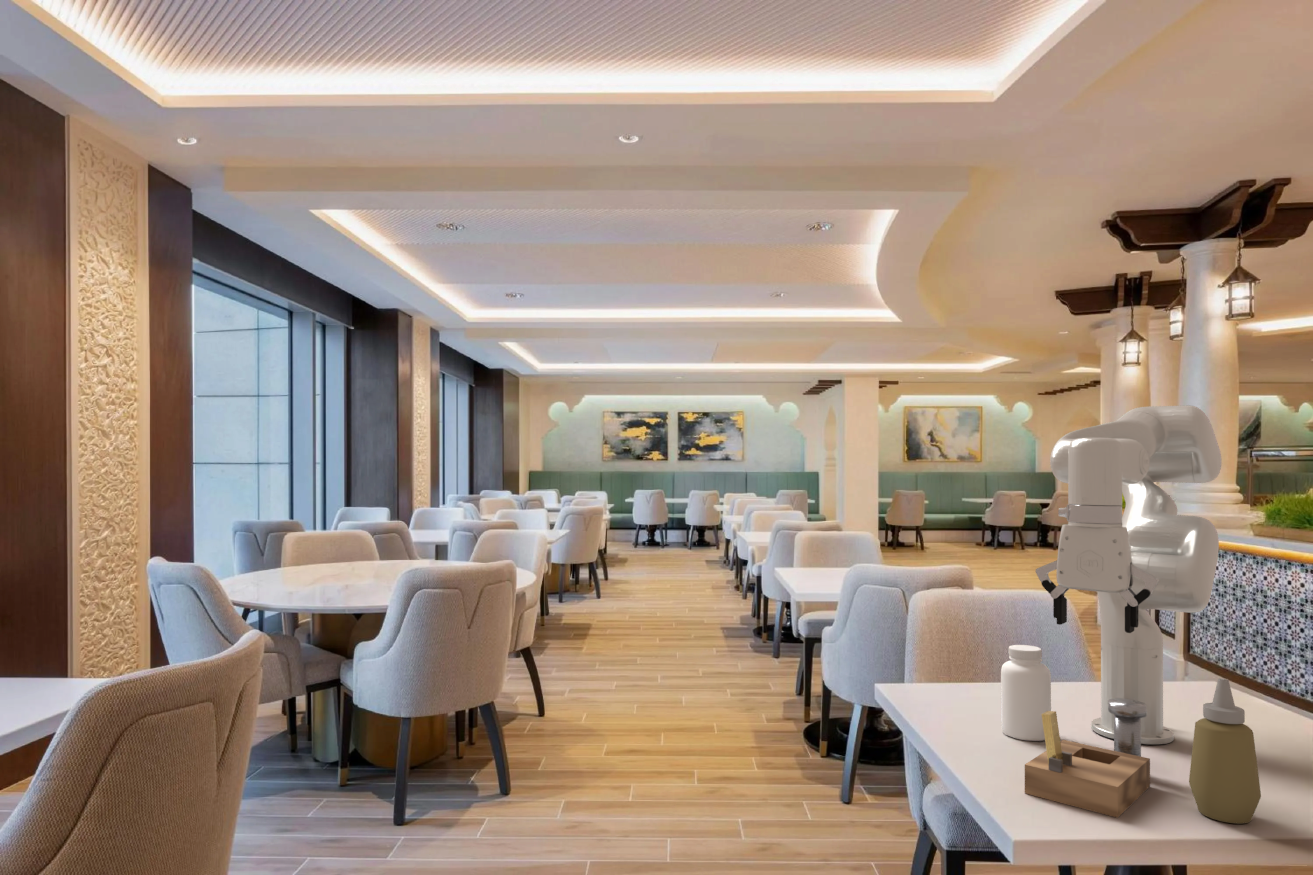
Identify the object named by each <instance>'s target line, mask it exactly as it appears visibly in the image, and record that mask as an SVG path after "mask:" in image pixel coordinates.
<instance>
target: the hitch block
mask: <svg viewBox="0 0 1313 875" xmlns="http://www.w3.org/2000/svg"><path fill="white" fill-rule="evenodd" d="M1060 742H1061V749H1062V757H1063V760H1061V759H1057V758H1053V757H1050V758H1049V765H1048V758H1047V750H1046V749H1045V751H1043V752H1042V753H1040V754H1039V755H1037V756H1035V757H1034V758H1033V759H1031V760H1030V761H1028V762H1026V763H1025V764H1024V794H1027V795H1030V796H1034V797H1036V798H1037V797H1038V798H1042V799H1044V800H1049V801H1053V802H1056V803H1061V804H1064V805H1067V806H1071V807H1075V808H1079V809H1083V810H1086V811H1087V810H1088V811H1090V812H1094V813H1098V814H1102V815H1106V816H1110V817H1114V818H1117V819H1118V818H1119V817H1121V816H1122V815H1123V813H1125V811H1126V810H1128V808H1129V807H1131V806H1132V805H1133V804H1134V803H1135V802H1136V800H1139V798H1140V797H1141V796H1142V795H1143V794H1144V793H1145V792H1146V791H1147V790H1148V789H1149V788H1150V787H1151V758H1149V757H1144V756H1141V757H1140V756H1136V755H1131V754H1126V753H1122V752H1117V751H1114V749H1107V748H1103V747H1099V746H1093V745H1089V744H1085V743H1080V742H1074V741H1072V740H1071V741H1070V740H1067V739H1062V740H1060Z"/></svg>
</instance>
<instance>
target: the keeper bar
mask: <svg viewBox="0 0 1313 875" xmlns="http://www.w3.org/2000/svg"><path fill="white" fill-rule="evenodd" d="M1041 715H1042V722H1043V729H1044V736H1045V740H1044V741H1045V742H1044V743H1045V751H1046V750H1047V758H1048V765H1049V758H1050V757H1053V758H1057V759H1061V760H1063V757H1062V749H1061V742H1060V741H1061V736H1060V728H1059V723H1058V716H1057V711H1056V710H1055V711H1054V710H1051V711H1046V712H1045V713H1043V714H1041Z"/></svg>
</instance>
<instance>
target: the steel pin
mask: <svg viewBox="0 0 1313 875" xmlns="http://www.w3.org/2000/svg"><path fill="white" fill-rule="evenodd" d="M1108 711H1109V712H1110V713H1112V714H1114V739H1113V751H1117V752H1122V753H1126V754H1131V755H1136V756H1140V757H1142V744H1141V718H1143V717H1146V716H1147V705H1146V704H1145V703H1143V702H1140V701H1136V700H1130V699H1121V698H1113V699H1109V700H1108Z"/></svg>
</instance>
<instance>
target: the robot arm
mask: <svg viewBox="0 0 1313 875" xmlns="http://www.w3.org/2000/svg"><path fill="white" fill-rule="evenodd" d="M1049 460H1050V462H1049V463H1050V464H1049V465H1050V469H1051V472H1052V474H1053V476H1054V477H1055V478H1056V480H1057V481H1059V482H1061V483H1063V484H1067V486H1068V487H1067V497H1068V498H1067V500H1068V501H1067V502H1068V503H1067V504H1066V506H1065V507H1060V508H1058V517H1063V518H1065V519H1066V521H1067V524H1062V525H1061V529H1060V533H1059V534H1060V535H1059V540H1058V547H1057V548H1058V549H1057V560H1054V561H1052V562H1049V563H1047V564H1045V565H1042V566H1040V567H1039V566H1038V567H1037V568H1036V569H1035V574H1036V576H1037V577H1038V580H1039V582H1041V586H1042V587H1043V589H1045V591H1047V593H1048V594H1049V595H1050V597H1051V598H1052V599H1053V606H1052V607H1053V609H1052V610H1053V611H1052V612H1053V618H1054V619H1056V625H1063V624H1066V623H1067V622H1068V599H1067V597H1065V594H1066V593H1067V592H1068V591H1069V590H1070V589H1071V590H1079V591H1088V592H1089V591H1091V592H1096V593H1097V597H1098V604H1099V614H1100V717H1097V718H1095V719H1093V720H1091V724H1090V725H1091V729H1092V730H1093V731H1094V732H1095V733H1097V734H1098V735H1101V736H1103V737H1104V738H1109V739H1111V740H1114V714H1112V713H1110V712H1109V711H1108V700H1109V699H1113V698H1121V699H1130V700H1136V701H1140V702H1143V703H1145V704H1146V705H1147V716H1146V717H1143V718H1141V745H1152V746H1153V745H1166V744H1169V743H1172V742H1173V741H1174V740H1175V736H1174V735H1175V733H1174V732H1173V730H1171V729H1170V728H1168V727H1166V726H1164V640H1163V639H1164V638H1163V633H1162V631H1161V628H1160V627H1159V625H1158V624H1157V623H1156V621H1155V620H1154V618H1153V617H1152V616H1151V615H1150V614H1149V612H1148V611H1147V610H1158V611H1159V610H1160V611H1169V612H1178V613H1190V614H1191V613H1193V614H1194V613H1199V612H1201V611H1203V610H1204V609H1206V608H1207V606H1208V604H1209V602H1210V599H1211V596H1212V590H1213V585H1214V582H1215V581H1214V580H1215V575H1216V571H1217V570H1216V569H1217V564H1218V558H1219V550H1220V545H1219V544H1220V542H1219V534H1218V531H1217V528H1216V527H1215V525H1214V524H1213V523H1212V521H1210V520H1209V519H1207V518H1206V517H1202V516H1197V515H1184V514H1183V515H1181V514H1180V515H1179V514H1178V506H1177V504H1176V502H1175V501H1174V500H1173V499H1172V497H1171V496H1170V495H1169V494H1168V493H1167V492H1166V491H1165V490H1164V489H1163V488H1162V487H1160V486H1159V485H1158V484H1155V483H1178V484H1180V483H1183V484H1184V483H1185V484H1203V483H1209V482H1212V481H1214V480H1216V478H1218V477H1219V475H1220V473H1221V470H1222V454H1221V449H1220V446H1219V443H1218V440H1217V437H1216V434H1215V431H1214V429H1213V426H1212V423H1211V421H1210V419H1209V417H1208V415H1207V414H1206V413H1205V412H1204V411H1203V410H1202V409H1201V408H1200V407H1197V406H1194V405H1189V404H1188V405H1156V406H1154V405H1152V406H1140V407H1139V406H1138V407H1136V408H1133V409H1130V410H1128V411H1127V412H1125V413H1124V414H1123V415H1122V416H1120V417H1119V418H1117V420H1115V421H1110V422H1105V423H1102V424H1098V425H1093V426H1088V427H1084V428H1081V429H1076V430H1073V431H1070V432H1068V433H1066V434H1064V435H1063V436H1061V437H1060V438H1059V439H1058V440H1057V441H1056V443H1055V444H1054V446H1053V448H1052V450H1051V453H1050V459H1049ZM1123 499H1124V502H1125V507H1124V511H1123ZM1053 571H1056V582H1057V584H1058V585H1056V584H1055V583H1054V582H1053V581H1052V579H1050V576H1049V573H1051V572H1053Z"/></svg>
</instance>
